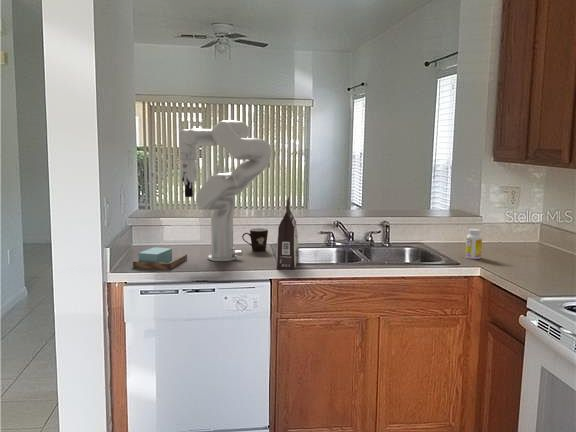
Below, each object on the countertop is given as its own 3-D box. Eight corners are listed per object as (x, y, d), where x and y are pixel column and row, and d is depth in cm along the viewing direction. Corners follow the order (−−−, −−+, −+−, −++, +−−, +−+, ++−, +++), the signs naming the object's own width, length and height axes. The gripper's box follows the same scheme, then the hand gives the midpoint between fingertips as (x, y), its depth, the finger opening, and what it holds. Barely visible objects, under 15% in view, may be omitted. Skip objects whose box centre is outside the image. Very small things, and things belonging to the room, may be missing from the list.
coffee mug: (269, 249, 251) (269, 228, 250) (266, 252, 243) (266, 231, 241) (245, 248, 253) (245, 227, 251) (241, 251, 244) (241, 230, 243)
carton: (172, 262, 223) (171, 248, 223) (157, 268, 212) (157, 254, 211) (154, 261, 226) (154, 247, 225) (139, 267, 214) (138, 252, 214)
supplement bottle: (481, 257, 237) (483, 229, 235) (480, 260, 231) (482, 231, 229) (466, 255, 240) (467, 227, 238) (464, 258, 234) (465, 230, 232)
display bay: (187, 259, 227) (187, 254, 227) (170, 269, 209) (169, 263, 209) (152, 258, 230) (152, 252, 230) (133, 267, 212) (132, 261, 212)
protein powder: (297, 269, 211) (297, 200, 208) (275, 269, 212) (275, 200, 208) (298, 260, 228) (299, 196, 224) (278, 260, 228) (278, 196, 224)
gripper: (191, 157, 231) (191, 198, 234) (200, 156, 246) (201, 195, 249) (174, 157, 232) (175, 198, 235) (185, 156, 247) (186, 195, 250)
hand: (188, 196), depth 242 cm, fingers closed
